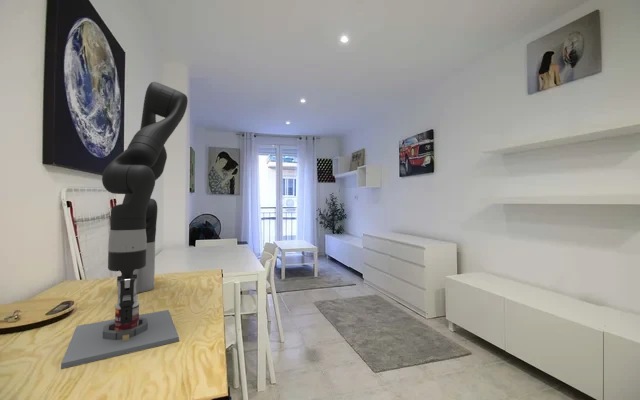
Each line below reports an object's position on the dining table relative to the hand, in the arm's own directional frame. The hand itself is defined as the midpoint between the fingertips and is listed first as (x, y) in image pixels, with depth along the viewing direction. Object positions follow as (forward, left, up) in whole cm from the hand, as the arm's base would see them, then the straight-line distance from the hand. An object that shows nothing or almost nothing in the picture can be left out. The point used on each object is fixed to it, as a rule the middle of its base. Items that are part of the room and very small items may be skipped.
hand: (126, 317), depth 67 cm
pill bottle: (0, 0, -3) cm, 4 cm away
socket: (0, 0, -4) cm, 4 cm away
